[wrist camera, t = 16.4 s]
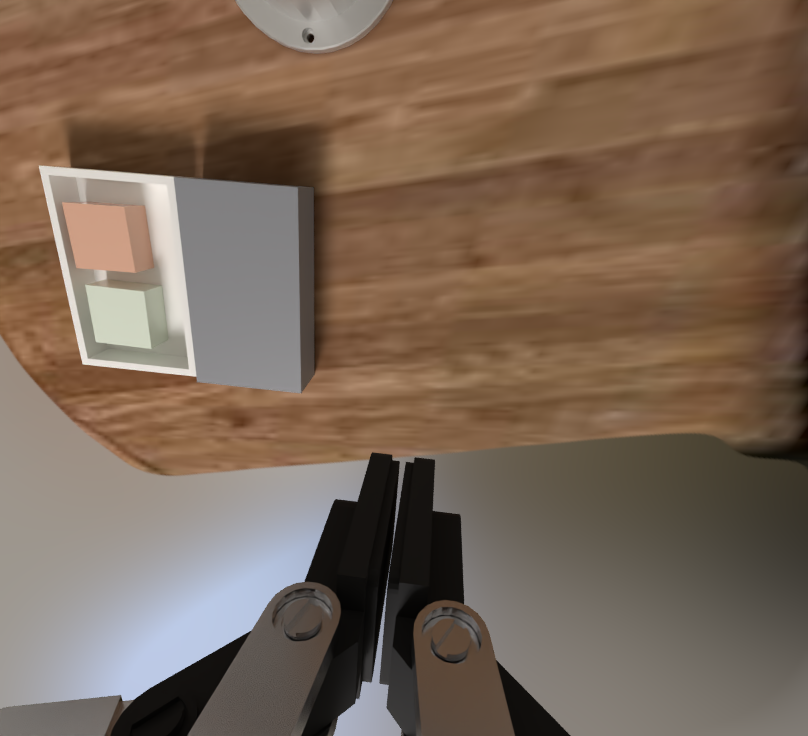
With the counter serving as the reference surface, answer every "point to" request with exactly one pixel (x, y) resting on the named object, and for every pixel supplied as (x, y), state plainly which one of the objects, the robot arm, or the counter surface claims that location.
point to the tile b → (127, 313)
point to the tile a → (109, 236)
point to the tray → (166, 272)
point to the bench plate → (249, 281)
